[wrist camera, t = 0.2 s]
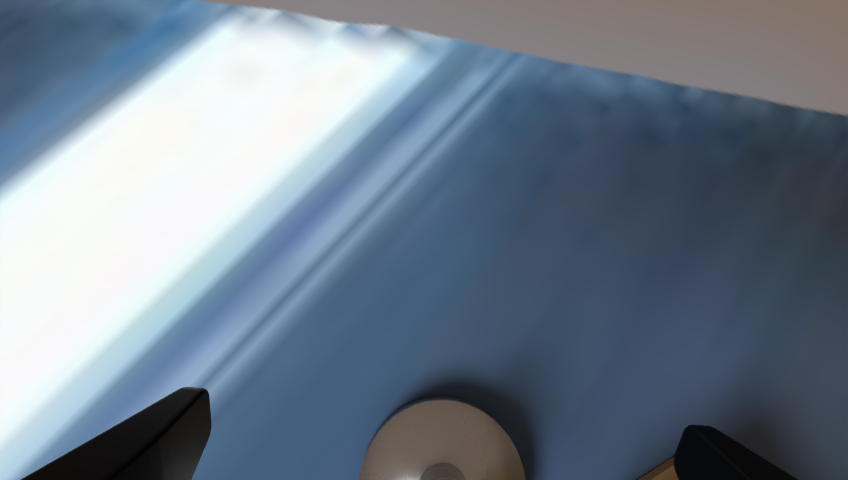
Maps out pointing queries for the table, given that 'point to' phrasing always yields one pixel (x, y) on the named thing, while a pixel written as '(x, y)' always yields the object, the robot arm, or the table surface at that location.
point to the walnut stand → (662, 472)
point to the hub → (441, 444)
